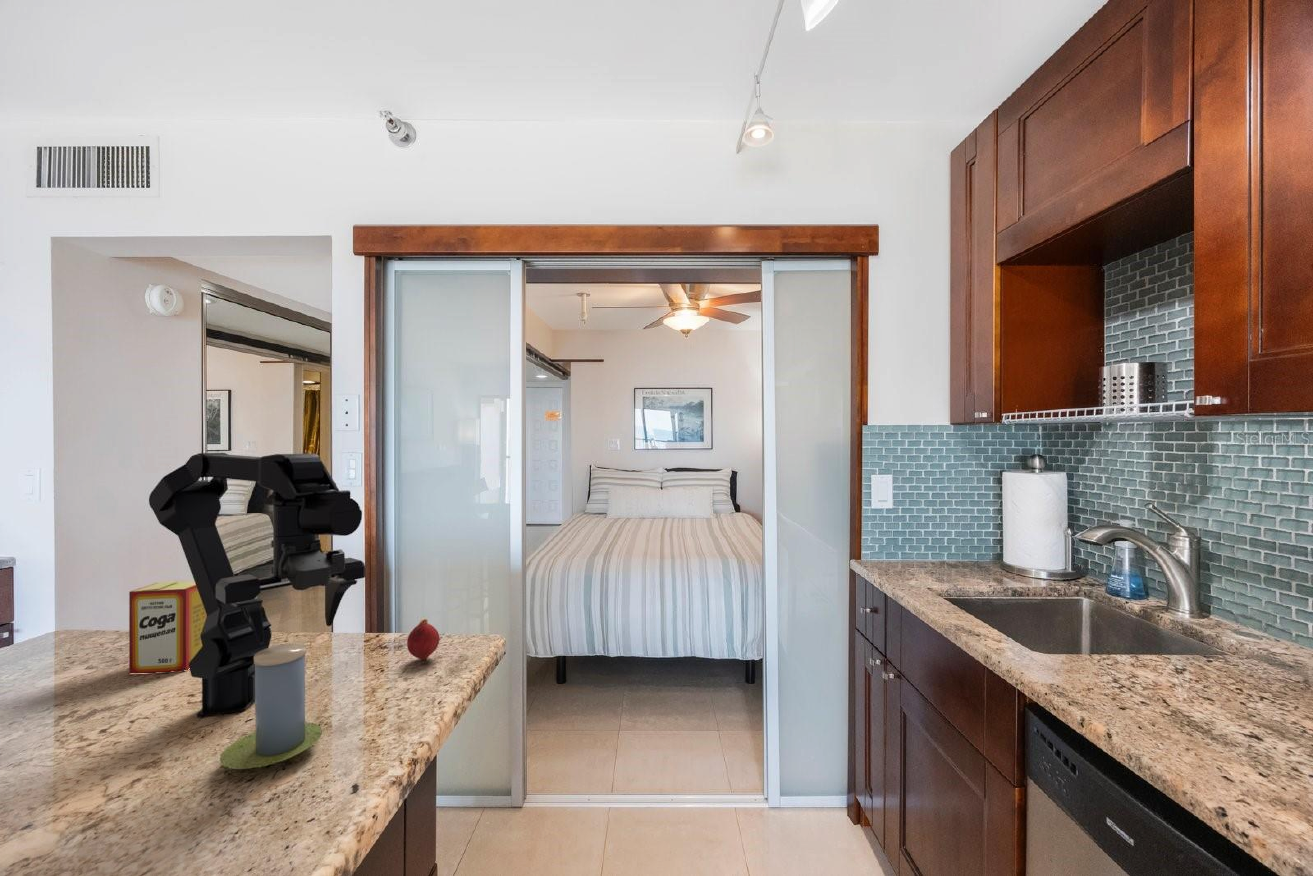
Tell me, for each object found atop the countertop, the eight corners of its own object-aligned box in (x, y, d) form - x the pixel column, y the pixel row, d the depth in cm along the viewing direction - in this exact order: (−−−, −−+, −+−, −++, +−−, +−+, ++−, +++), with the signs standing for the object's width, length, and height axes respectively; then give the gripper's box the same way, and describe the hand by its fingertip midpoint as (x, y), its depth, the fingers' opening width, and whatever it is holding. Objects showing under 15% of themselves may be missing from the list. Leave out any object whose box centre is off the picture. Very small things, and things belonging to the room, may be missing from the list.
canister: (244, 758, 68) (243, 661, 68) (269, 734, 74) (269, 644, 74) (293, 754, 69) (292, 658, 69) (314, 730, 75) (314, 641, 75)
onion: (427, 667, 101) (426, 624, 101) (400, 665, 102) (400, 623, 102) (445, 655, 106) (444, 615, 107) (419, 653, 108) (419, 613, 108)
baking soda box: (209, 657, 107) (209, 578, 107) (186, 671, 101) (186, 587, 101) (156, 661, 106) (156, 581, 106) (129, 675, 99) (129, 589, 99)
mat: (244, 742, 76) (244, 728, 76) (333, 729, 79) (332, 716, 79) (200, 791, 65) (200, 775, 65) (305, 774, 68) (305, 758, 68)
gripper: (236, 548, 70) (237, 666, 70) (380, 530, 85) (381, 627, 85) (214, 540, 77) (214, 648, 77) (351, 524, 92) (351, 614, 92)
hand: (296, 633), depth 82 cm, fingers open, 9 cm apart
